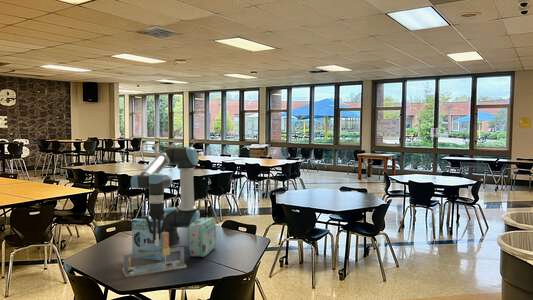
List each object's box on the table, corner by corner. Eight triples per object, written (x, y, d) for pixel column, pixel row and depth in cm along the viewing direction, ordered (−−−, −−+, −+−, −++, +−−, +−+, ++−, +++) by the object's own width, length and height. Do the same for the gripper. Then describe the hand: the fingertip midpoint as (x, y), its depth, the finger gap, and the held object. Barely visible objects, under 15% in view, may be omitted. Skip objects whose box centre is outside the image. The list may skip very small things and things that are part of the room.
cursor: (160, 264, 222) (160, 232, 221) (168, 263, 224) (167, 231, 223) (162, 266, 218) (162, 234, 218) (170, 265, 220) (169, 233, 219)
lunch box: (203, 260, 234) (203, 223, 233) (186, 259, 236) (186, 222, 235) (218, 247, 260) (218, 214, 259) (202, 246, 262) (202, 213, 261)
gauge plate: (122, 270, 216) (122, 267, 216) (180, 261, 231) (180, 258, 231) (125, 277, 206) (125, 273, 206) (186, 267, 221) (186, 264, 221)
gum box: (165, 258, 237) (165, 220, 236) (160, 261, 232) (160, 221, 231) (136, 255, 243) (136, 217, 242) (131, 257, 238) (131, 219, 237)
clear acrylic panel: (123, 270, 212) (123, 254, 212) (183, 261, 227) (182, 246, 227) (124, 272, 210) (124, 255, 209) (184, 263, 225) (184, 247, 224)
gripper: (145, 204, 211) (145, 248, 212) (170, 202, 217) (170, 245, 218) (142, 202, 218) (143, 245, 219) (166, 200, 224) (167, 242, 225)
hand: (156, 245), depth 219 cm, fingers closed
